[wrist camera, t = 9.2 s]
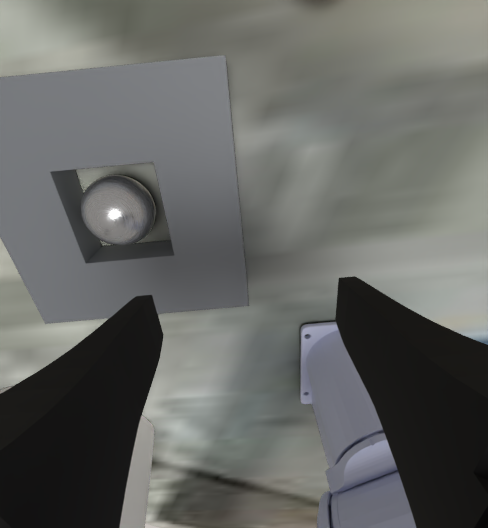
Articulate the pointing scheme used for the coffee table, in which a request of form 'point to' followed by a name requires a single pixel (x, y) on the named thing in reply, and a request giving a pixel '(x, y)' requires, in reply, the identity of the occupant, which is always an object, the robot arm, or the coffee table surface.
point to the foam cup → (138, 478)
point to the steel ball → (118, 210)
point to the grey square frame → (121, 153)
